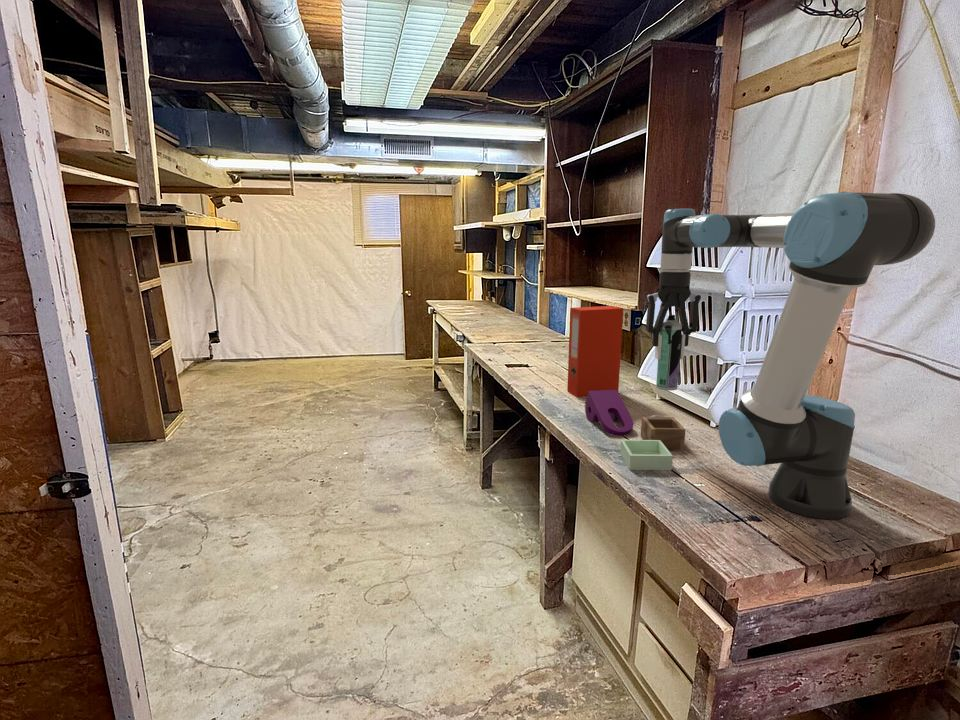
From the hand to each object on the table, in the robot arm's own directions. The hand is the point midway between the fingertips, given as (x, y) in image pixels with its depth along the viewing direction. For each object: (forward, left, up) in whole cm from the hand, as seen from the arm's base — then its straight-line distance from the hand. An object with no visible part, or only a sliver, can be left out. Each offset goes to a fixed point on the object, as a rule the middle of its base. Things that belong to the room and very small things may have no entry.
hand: (669, 358), depth 138 cm
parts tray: (-12, +8, -25) cm, 29 cm away
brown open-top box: (+2, 0, -25) cm, 25 cm away
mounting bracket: (+15, +12, -25) cm, 31 cm away
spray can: (0, 0, -9) cm, 9 cm away
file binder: (+51, +11, -25) cm, 57 cm away
